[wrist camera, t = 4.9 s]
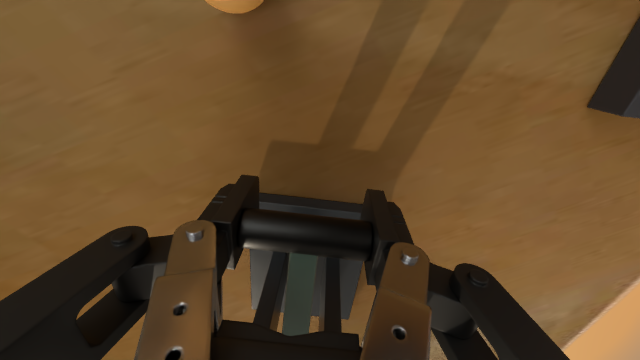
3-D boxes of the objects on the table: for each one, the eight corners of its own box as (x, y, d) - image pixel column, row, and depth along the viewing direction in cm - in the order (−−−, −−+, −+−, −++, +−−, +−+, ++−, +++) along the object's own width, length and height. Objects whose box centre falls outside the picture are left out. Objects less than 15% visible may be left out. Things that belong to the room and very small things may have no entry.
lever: (252, 199, 11) (233, 219, 9) (367, 212, 11) (378, 236, 9) (240, 415, 14) (223, 475, 12) (332, 425, 14) (334, 487, 12)
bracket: (252, 191, 19) (137, 406, 8) (372, 205, 19) (428, 436, 8) (255, 298, 25) (190, 510, 14) (348, 308, 25) (360, 527, 14)
